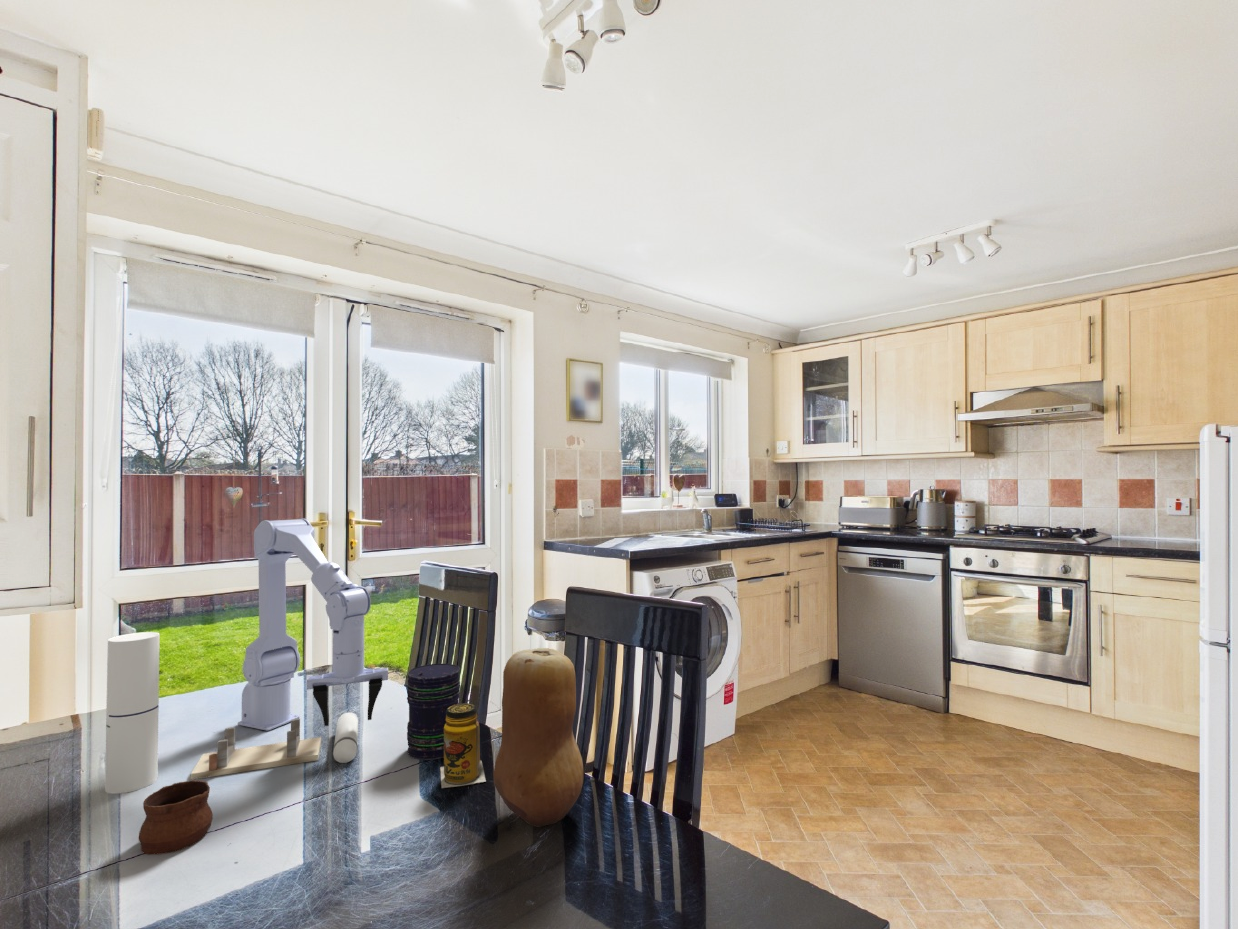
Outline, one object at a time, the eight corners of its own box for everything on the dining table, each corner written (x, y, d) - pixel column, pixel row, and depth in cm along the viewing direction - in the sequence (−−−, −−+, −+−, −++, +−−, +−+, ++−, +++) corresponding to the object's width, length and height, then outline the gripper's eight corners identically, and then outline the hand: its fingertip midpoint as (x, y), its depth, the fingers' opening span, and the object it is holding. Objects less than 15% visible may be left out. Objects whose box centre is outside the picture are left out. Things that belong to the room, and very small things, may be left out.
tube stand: (190, 780, 109) (190, 747, 110) (203, 759, 118) (203, 729, 118) (318, 760, 117) (318, 730, 117) (321, 742, 125) (321, 714, 125)
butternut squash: (601, 809, 98) (599, 646, 99) (548, 853, 86) (547, 668, 87) (530, 788, 105) (529, 637, 106) (473, 826, 93) (473, 655, 94)
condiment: (441, 789, 105) (441, 716, 106) (440, 768, 113) (440, 700, 114) (486, 783, 107) (485, 711, 108) (481, 762, 115) (481, 696, 116)
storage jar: (440, 734, 128) (440, 660, 129) (470, 747, 122) (470, 669, 123) (396, 751, 121) (396, 672, 121) (426, 765, 114) (426, 681, 115)
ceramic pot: (270, 830, 93) (269, 781, 94) (124, 896, 79) (124, 838, 79) (215, 799, 104) (215, 756, 104) (77, 853, 89) (77, 802, 89)
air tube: (338, 735, 130) (335, 715, 130) (359, 729, 131) (357, 709, 131) (334, 766, 115) (331, 743, 115) (358, 759, 116) (355, 737, 116)
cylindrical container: (128, 795, 104) (131, 642, 105) (93, 791, 106) (96, 640, 106) (167, 775, 111) (170, 632, 112) (134, 772, 113) (136, 631, 113)
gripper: (305, 660, 117) (305, 734, 117) (388, 651, 123) (388, 722, 122) (308, 651, 124) (308, 721, 123) (387, 643, 129) (387, 710, 129)
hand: (348, 721), depth 123 cm, fingers open, 7 cm apart
